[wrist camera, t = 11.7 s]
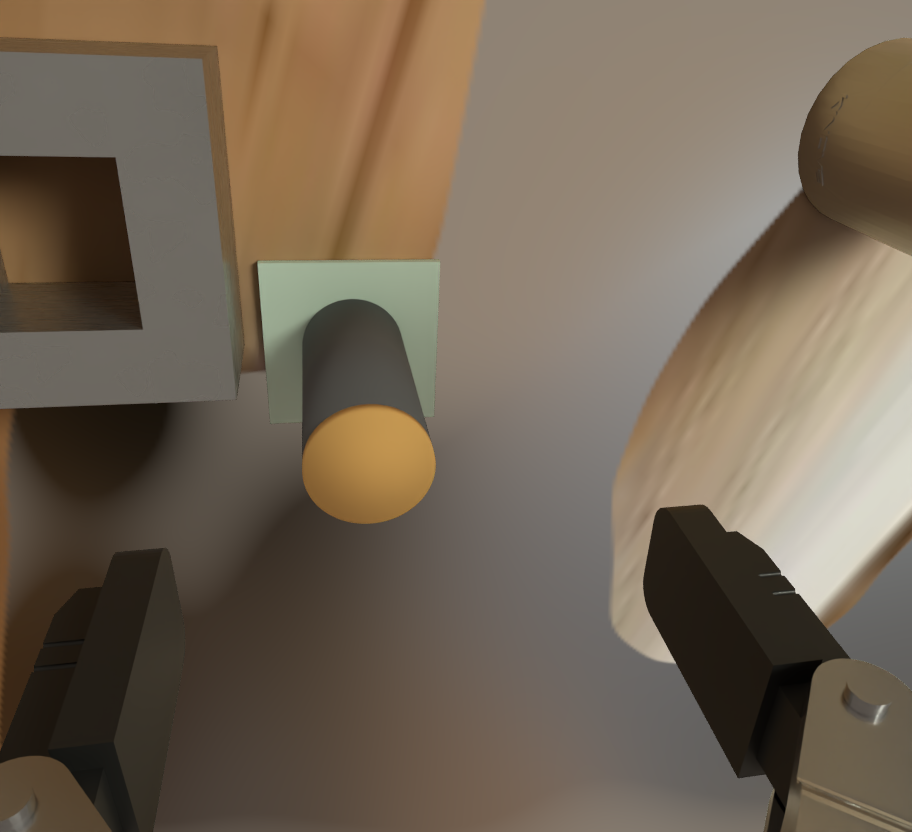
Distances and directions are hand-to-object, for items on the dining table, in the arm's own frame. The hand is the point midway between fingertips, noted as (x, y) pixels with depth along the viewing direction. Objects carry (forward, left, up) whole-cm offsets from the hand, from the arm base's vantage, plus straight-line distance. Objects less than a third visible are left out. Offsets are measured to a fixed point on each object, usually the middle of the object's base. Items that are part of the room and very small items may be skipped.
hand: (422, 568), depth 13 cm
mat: (0, +8, -28) cm, 29 cm away
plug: (0, +8, -28) cm, 29 cm away
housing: (+12, +1, -28) cm, 31 cm away
